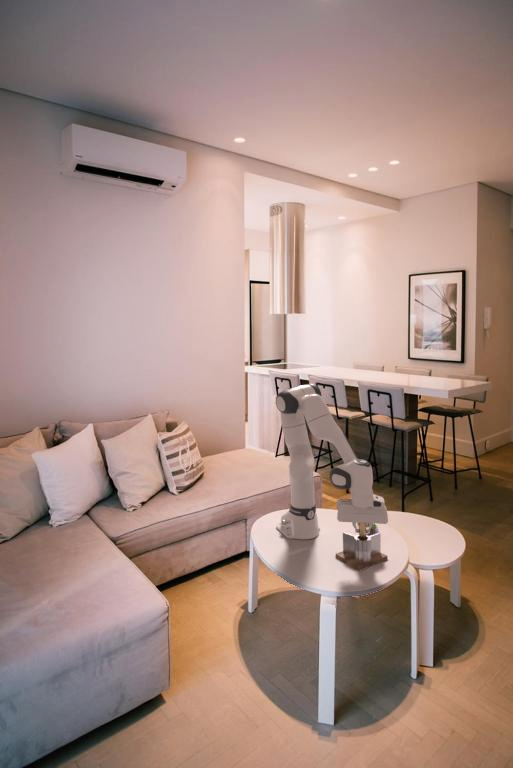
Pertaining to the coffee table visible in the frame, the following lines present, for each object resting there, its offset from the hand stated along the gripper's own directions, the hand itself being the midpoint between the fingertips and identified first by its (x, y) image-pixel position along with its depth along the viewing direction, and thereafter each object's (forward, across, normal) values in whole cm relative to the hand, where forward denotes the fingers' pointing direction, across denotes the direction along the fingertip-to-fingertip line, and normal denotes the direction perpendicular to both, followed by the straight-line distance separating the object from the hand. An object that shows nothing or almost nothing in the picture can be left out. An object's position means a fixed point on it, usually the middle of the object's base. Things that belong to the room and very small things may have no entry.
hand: (362, 532), depth 190 cm
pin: (+5, 0, 0) cm, 5 cm away
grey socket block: (+11, 0, +5) cm, 12 cm away
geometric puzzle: (+13, +3, +25) cm, 28 cm away
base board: (+13, -1, +4) cm, 13 cm away
